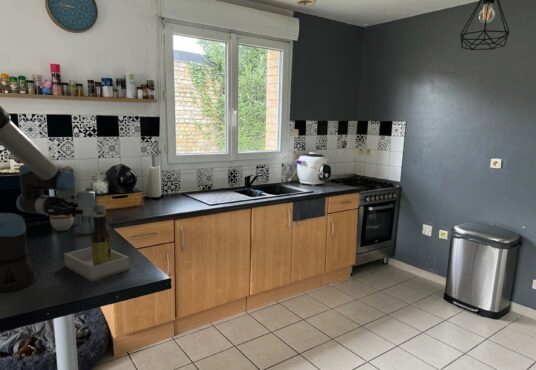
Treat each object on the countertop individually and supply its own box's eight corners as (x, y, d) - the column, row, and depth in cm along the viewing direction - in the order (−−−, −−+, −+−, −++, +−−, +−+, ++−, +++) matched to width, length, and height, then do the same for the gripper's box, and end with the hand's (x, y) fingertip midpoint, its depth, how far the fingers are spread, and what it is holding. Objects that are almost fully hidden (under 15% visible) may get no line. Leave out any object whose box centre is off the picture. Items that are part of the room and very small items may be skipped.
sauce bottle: (113, 270, 137) (110, 216, 134) (94, 273, 134) (90, 218, 130) (110, 264, 142) (107, 213, 139) (92, 267, 139) (88, 215, 136)
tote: (129, 270, 139) (128, 257, 139) (91, 281, 129) (90, 267, 128) (101, 256, 154) (100, 244, 153) (65, 266, 143) (64, 253, 142)
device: (59, 220, 212) (54, 167, 207) (74, 218, 216) (70, 166, 211) (61, 226, 198) (56, 170, 193) (77, 224, 202) (73, 169, 197)
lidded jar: (70, 225, 200) (69, 208, 199) (77, 229, 193) (76, 211, 191) (47, 229, 193) (46, 211, 192) (54, 233, 185) (52, 215, 184)
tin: (90, 233, 139) (87, 193, 137) (76, 233, 140) (73, 193, 138) (100, 229, 145) (98, 191, 142) (86, 228, 146) (83, 190, 143)
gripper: (72, 209, 157) (116, 214, 149) (29, 220, 139) (77, 226, 131) (71, 192, 155) (115, 195, 147) (27, 200, 138) (75, 205, 130)
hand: (97, 210), depth 139 cm, fingers closed on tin, 6 cm apart
